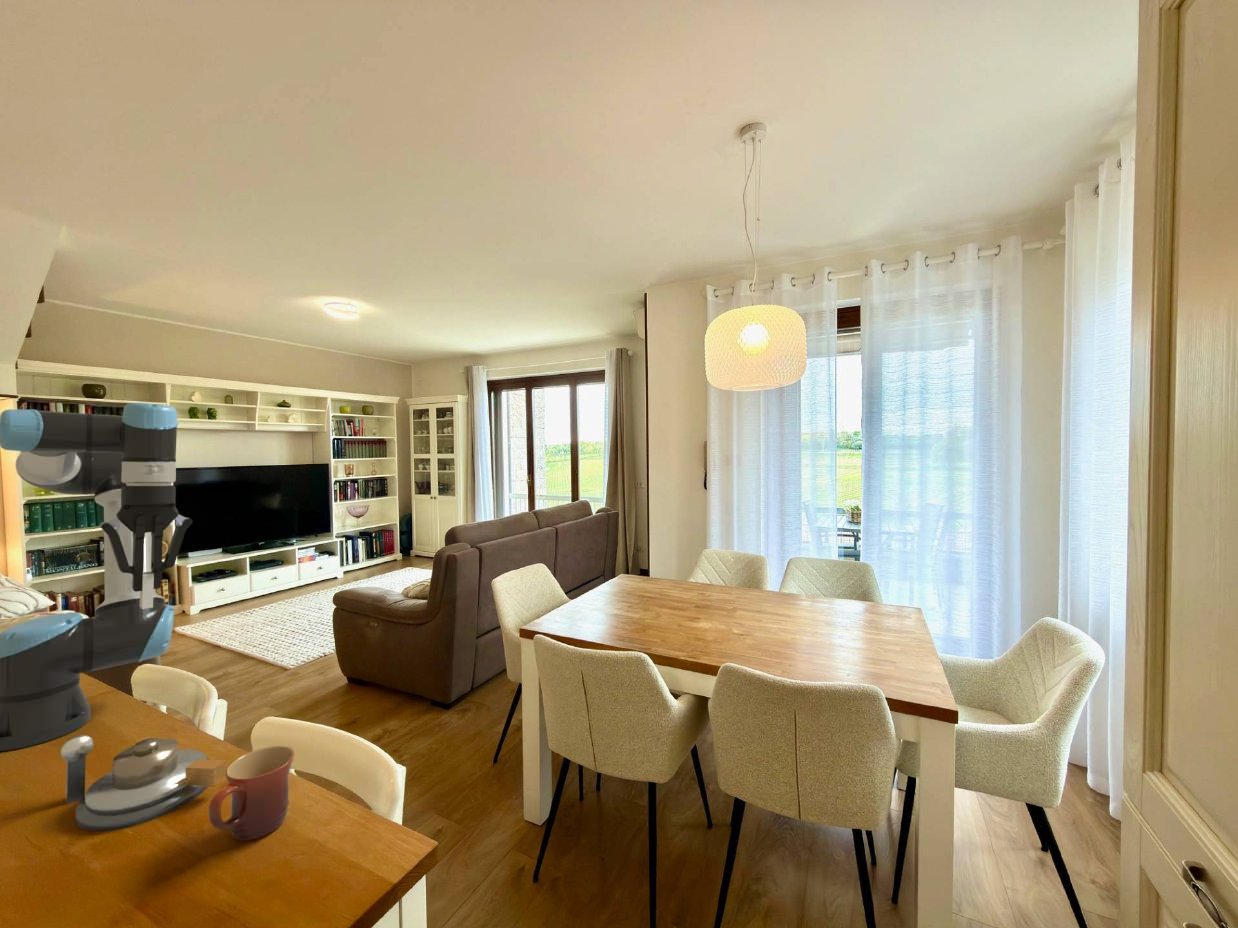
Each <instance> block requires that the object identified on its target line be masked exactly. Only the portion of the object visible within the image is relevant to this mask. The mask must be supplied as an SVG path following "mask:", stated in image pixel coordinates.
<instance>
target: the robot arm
mask: <svg viewBox="0 0 1238 928" xmlns="http://www.w3.org/2000/svg"><path fill="white" fill-rule="evenodd" d="M177 413H178V412H177V409H176V408H175V407H173V406H170V405H167V404H158V403H156V404H155V403H144V402H143V403H142V402H131V403H126V404H125V405H124V406H123V413H122V415H115V414H114V415H113V414H97V413H95V414H93V413H80V412H69V411H68V412H67V411H66V412H65V411H53V410H52V411H51V410H38V409H33V408H31V409H30V408H29V409H12V408H11V409H10V408H9V409H5V410H3V411H2V412H1V413H0V448H1V449H3V450H5V451H12V452H13V451H15V452H20V453H19V455H18V456H17V457H16V460H15V470H16V473H17V474H18V476H19V477H20V478H21V479H22V480H23V481H24V482H26V483H27V484H29V485H31V486H34V487H36V488H38V489H42V490H44V491H45V490H46V491H49V492H53V493H57V494H61V495H63V494H64V495H76V496H77V495H79V496H81V495H82V496H83V495H84V496H86V495H93V496H94V502H95V503H96V504H97V505H100V506H101V507H103V522H101V523H100V524H99V528H100V529H101V530H102V531H103V542H104V543H103V545H104V546H103V547H104V549H103V550H104V551H103V552H104V555H103V558H104V563H103V564H104V600H103V602H102V603H100V604H99V605H97V607H96V608H95V610H94V616H91V617H86V618H83V615H82V614H81V613H80V612H77V611H75V612H72V611H71V612H66V613H64V612H63V613H58V614H51V615H45V616H43V617H39V618H34V619H31V620H27V621H25V622H20V623H19V624H16V625H13V626H11V627H8V628H7V629H5V630H3V631H2V632H0V752H5V751H12V750H18V749H23V748H27V747H31V746H36V745H40V744H42V743H45V742H49V741H52V740H55V739H57V738H60V737H63V736H65V735H67V734H70V733H72V732H74V731H76V730H78V729H80V728H82V727H83V726H85V725H86V724H87V723H88V722H89V721H90V720H91V716H92V715H91V714H92V713H91V711H92V709H91V705H90V703H89V701H88V699H87V697H86V695H85V694H84V692H83V689H82V687H81V684H80V682H81V681H80V680H81V677H80V675H81V674H83V673H89V672H93V671H99V670H103V669H104V670H105V669H108V668H112V667H117V666H121V665H126V664H131V663H137V662H138V663H140V662H142V661H146V660H149V659H154V658H157V657H160V656H163V654H165V653H166V651H167V650H168V648H169V645H170V642H171V637H172V632H173V627H174V618H175V617H174V616H175V611H174V609H175V607H174V605H173V604H172V605H171V604H166V603H165V597H164V596H162V595H159V594H158V593H157V589H160V588H161V586H162V573H163V571H165V570H167V569H170V568H173V567H174V566H175V564H176V561H177V559H178V558H177V557H178V556H179V552H180V548H181V546H182V543H183V540H184V537H185V534H186V531H187V530H188V529H189V527H190V526H191V525H192V524H193V519H192V518H189V517H185V516H183V515H181V514H179V513H180V512H179V510H178V509H177V507H176V486H175V485H172V483H175V482H176V477H177V475H176V474H177V473H176V471H177V469H176V468H177V466H176V465H177V463H176V462H177V459H176V458H177V457H176V456H177V435H178V434H177V433H178V426H179V421H178V414H177ZM174 521H175V522H174ZM173 522H174V526H175V529H174V531H173V535H172V537H171V540H170V543H169V545H168V549H167V552H166V555H165V558H164V561H163V537H164V531H165V530H166V529H167V528H168V527H169V526H170V525H171V524H172V523H173ZM165 604H166V605H165ZM89 719H90V720H89Z"/></svg>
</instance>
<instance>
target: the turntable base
mask: <svg viewBox="0 0 1238 928" xmlns="http://www.w3.org/2000/svg"><path fill="white" fill-rule="evenodd" d="M207 760H211V759H210V758H208V757H207ZM207 788H209V786H190V787H189V788H187V789H185V790H184V791H182V792H180V793H179V794H177V795H175V796H173V797H171V798H168V799H166V800H164V801H162V802H159V803H157V804H154V805H151V806H148V807H145V808H142V809H138V810H135V811H131V812H126V813H120V814H112V815H98V814H93V813H90V812H88V811H87V810H86V808H85V796H84V797H83V798H82V799H80V800H79V801H78V803H77V805H76V806H75V819H74V820H75V824H76V826H77V827H78V828H79V829H82V830H84V831H90V832H107V831H116V830H120V829H126V828H129V827H133V826H136V825H140V824H143V823H146V822H150V821H152V820H155V819H157V818H160V817H162V816H165V815H166V814H169V813H172V812H173V811H175V810H177V809H180V807H182V806H184V805H186V804H188V803H189V802H190V801H192V800H194V799H196V797H198V796H199V795H200V794H201V793H203V792H204V791H205V790H206V789H207Z"/></svg>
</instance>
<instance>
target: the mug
mask: <svg viewBox="0 0 1238 928" xmlns="http://www.w3.org/2000/svg"><path fill="white" fill-rule="evenodd" d="M294 758H295V750H294V749H293V748H291V746H286V745H273V746H266V747H261V748H258V749H255V750H252V751H250V752H247V753H246V754H245V753H244V754H243V755H242V756H240V757H238V758H236V759H235V760H234V761H232V762H231V763H230V764H229V765H228V766H227V767H226V780H227V781H228V784H226V785H225V786H224V787H223V788H221V789H220V790H219V791H218V792H216V794H214V796H213V797H212V799H211V800H210V803H209V807H208V818H209V821H210V825H212V827H214V828H215V829H217V830H220V831H222V830H230V831H231V834H232V835H231V836H232V837H234V839H237V840H242V841H253V840H256V839H259V838H262V837H265V836H266V835H268V834H270V833H272V832H273V831H274V830H276V829H277V828H278V827H279V826H280V825H281V824H282V823H283V822H284V821H285V820H286V817H287V813H288V810H289V805H290V802H289V801H290V800H289V799H290V796H289V795H290V794H289V791H290V790H289V789H290V788H289V787H290V786H289V777H290V776H289V775H290V771H291V770H290V769H291V767H292V763H293V761H294ZM229 795H231V797H230V798H231V801H230V817H228V818H227V819H226V820H225V821H224V820H223V818H222V811H221V810H222V803H223V801H224V799H226V798H227V797H228V796H229Z"/></svg>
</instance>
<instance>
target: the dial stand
mask: <svg viewBox="0 0 1238 928" xmlns="http://www.w3.org/2000/svg"><path fill="white" fill-rule="evenodd" d="M93 748H94V741H93V738H92V737H91V736H89V735H87V734H79V735H76V736H73V737H72V738H68V739H67V740H66V742H64V743H63V745H62V746H61V748H60V755H61V758H62V760H65V761H66V772H65V773H66V775H65V776H66V779H65V781H66V782H65V783H66V784H65V802H66V804H67V805H69V804H71V803H74V802H77V801H80V800H81V799H82V798H83V797H84V796H85V794H86V791H85V790H86V761H87V759H86V758H87V756H88V755H89V754H90V752H92V750H93Z"/></svg>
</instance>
